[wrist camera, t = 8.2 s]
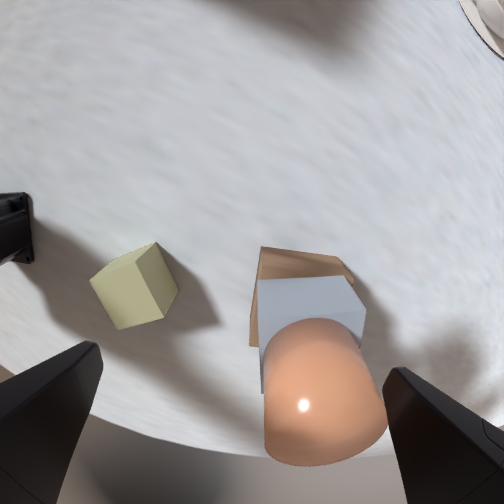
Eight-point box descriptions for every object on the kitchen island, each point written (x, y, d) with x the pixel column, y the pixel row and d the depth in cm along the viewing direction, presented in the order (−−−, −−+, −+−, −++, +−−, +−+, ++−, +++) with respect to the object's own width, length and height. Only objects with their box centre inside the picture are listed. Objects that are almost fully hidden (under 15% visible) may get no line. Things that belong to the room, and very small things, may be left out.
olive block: (137, 303, 21) (117, 330, 17) (114, 258, 20) (89, 280, 16) (179, 289, 21) (164, 317, 17) (156, 241, 19) (134, 261, 16)
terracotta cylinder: (258, 386, 14) (257, 466, 9) (269, 314, 12) (275, 401, 7) (341, 387, 14) (362, 460, 9) (366, 319, 12) (408, 394, 7)
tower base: (250, 314, 21) (249, 346, 18) (261, 245, 19) (262, 268, 16) (319, 321, 21) (330, 352, 18) (337, 256, 20) (354, 279, 16)
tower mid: (260, 349, 18) (261, 393, 14) (257, 279, 16) (257, 317, 12) (336, 343, 17) (351, 385, 14) (343, 275, 16) (366, 309, 12)
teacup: (519, 30, 11) (544, 24, 6) (513, 79, 13) (543, 76, 9) (459, -33, 9) (481, -47, 5) (446, 7, 12) (474, -9, 8)
